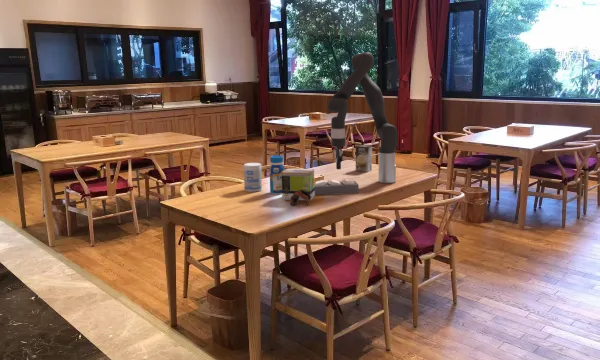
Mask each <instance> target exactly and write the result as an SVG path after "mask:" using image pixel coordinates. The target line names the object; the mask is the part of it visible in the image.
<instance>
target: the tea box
mask: <svg viewBox="0 0 600 360" xmlns="http://www.w3.org/2000/svg"><path fill="white" fill-rule="evenodd" d="M281 174H282V194H281V195H282V200H283V201H285V200H286V201H291V197H292V196H293V194H294V193H295V192H298V191H299V190H303V191H305V192H307V193H308V194H309V195H310V196H311V198H310V202H311V201H312V200H314V198H315V196H316V195H315V185H314V182H315V169H313V168H312V169H311V168H310V169H309V168H308V169H307V168H306V169H305V168H286V169H285V170H284V171H283V172H281ZM298 201H305V202H306V201H307V200H305V199H303V198H301V196H299V200H298Z"/></svg>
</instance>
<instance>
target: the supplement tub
mask: <svg viewBox="0 0 600 360" xmlns="http://www.w3.org/2000/svg"><path fill="white" fill-rule="evenodd" d="M243 180H244V181H243V183H244V184H243V185H244V191H245V192H249V193H256V191H257V192H261V190H262V186H263V184H262V181H263V180H262V164H261V163H260V162H248V163H244V164H243Z"/></svg>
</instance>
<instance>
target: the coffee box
mask: <svg viewBox="0 0 600 360" xmlns="http://www.w3.org/2000/svg"><path fill="white" fill-rule="evenodd" d="M372 170H373V145H366V144H359V145H356V146H355V171H356V172H363V173H364V172H365V173H369V172H372Z"/></svg>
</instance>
